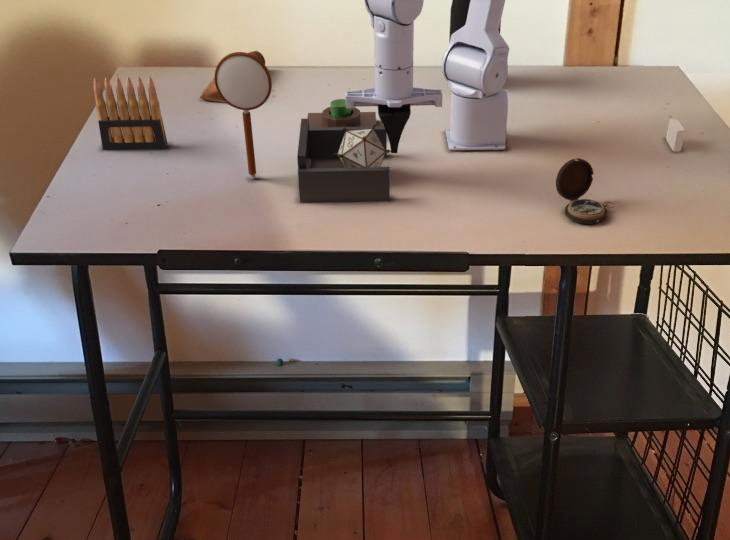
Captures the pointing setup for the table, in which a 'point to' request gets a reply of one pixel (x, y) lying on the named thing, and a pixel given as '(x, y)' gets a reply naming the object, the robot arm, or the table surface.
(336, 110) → the button
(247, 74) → the magnifying glass
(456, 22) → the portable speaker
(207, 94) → the sunglasses case
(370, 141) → the game die
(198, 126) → the table surface
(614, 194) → the table surface
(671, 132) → the eraser
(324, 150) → the cubby
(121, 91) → the ammunition clip
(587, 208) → the compass
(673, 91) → the table surface
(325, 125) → the box
